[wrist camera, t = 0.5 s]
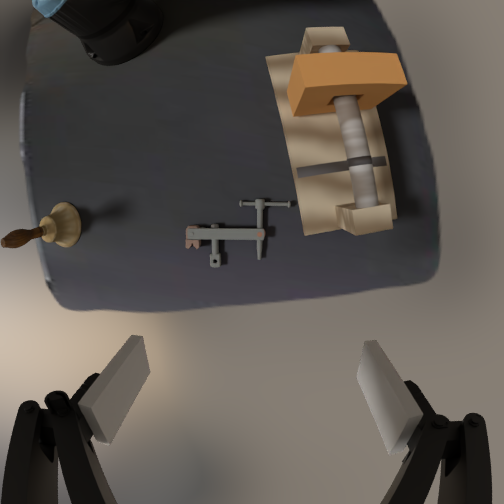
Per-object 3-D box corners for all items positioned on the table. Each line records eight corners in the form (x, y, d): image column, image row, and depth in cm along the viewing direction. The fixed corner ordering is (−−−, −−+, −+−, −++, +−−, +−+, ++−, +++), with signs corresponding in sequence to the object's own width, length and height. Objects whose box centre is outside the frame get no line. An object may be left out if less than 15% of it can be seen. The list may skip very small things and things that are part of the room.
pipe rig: (265, 59, 35) (266, 28, 26) (355, 52, 34) (375, 25, 25) (304, 234, 41) (316, 247, 31) (394, 217, 40) (425, 226, 30)
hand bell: (82, 248, 43) (22, 273, 27) (52, 246, 43) (-7, 267, 27) (81, 201, 41) (16, 210, 25) (49, 202, 41) (-13, 212, 26)
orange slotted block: (286, 91, 34) (295, 54, 23) (364, 85, 33) (396, 53, 22) (293, 116, 35) (305, 87, 24) (370, 109, 34) (407, 84, 23)
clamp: (186, 267, 41) (184, 199, 39) (190, 263, 43) (188, 199, 41) (289, 269, 40) (291, 199, 38) (288, 265, 42) (289, 199, 40)
